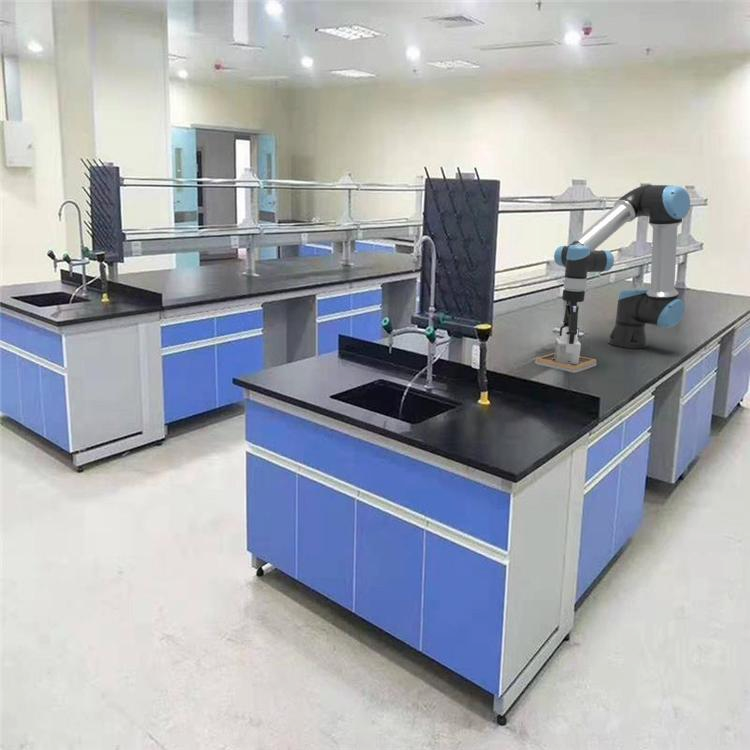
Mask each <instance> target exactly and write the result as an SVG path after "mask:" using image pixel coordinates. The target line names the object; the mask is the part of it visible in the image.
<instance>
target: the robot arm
mask: <svg viewBox="0 0 750 750" xmlns="http://www.w3.org/2000/svg"><path fill="white" fill-rule="evenodd" d="M690 208H691V198H690V195H689V192H688V191H687V190H686V189H685V187H682V186H678V185H673V184H671V185H666V184H658V185H657V184H645V185H641V186H638V187H636V188H634V189H632V190H630V191H628V192H627V193H625V194H624V195H623V196H621V197H619V199H618V200H616V201H615V202H614V204H613V207H612V208H611V209H610V210H608V211H607V213H605V214H604V215H603V216H602V217H601V218H599V219H598V220H596V222H594V223H593V224H592V225H591V226H590V227H589V228H587V229H586V230H585V231H584V232H583V233H581V234H580V235H579V236H578V237H577V238H575V240H574V241H572V242H571V243H570V244H569V245H561V246H559V247H557V248H556V250H555V251H554V253H553V260H554V262H555V264H557V266H561V267H563V268H565V270H564V279H562V282H561V283H563V288H564V289H563V290H562V294H561V295H562V298H561V299H562V301H564V302H566V305H565V311H564V317H563V321H562V324H563V325H562V326H566V325H568V326H569V329H568V332H567V333H566V334H568V335H567V344H566V352H568V353H574V346H575V337H576V334H577V328H578V322H579V321H578V316H579V306H578V303H582V302H584V301H585V294H586V292H585V291H584V290H586V289H587V288H586V287H587V279H588V273H603V272H608V271H610V270H611V269H612V268H613V266H614V263H615V257H614V255H613V254H612V252H611V251H609V250H604V249H601V250H596V249H597V248H598V247H600V246H601V245H602V244H603V243H604V242H605V241H607V240H608V238H610V237H611V236H612V235H613V234H614V233H616V232H617V231H618V230H620V228H621V227H623V226H624V225H625V224H626V223H631V222H632V221H634V220H635V219H636V218H639V217H648V224H649V226H651V227H652V240H651V242H652V243H651V244H652V246H651V271H650V287H649V288H650V289H648V288H647V289H646V288H645V289H644V288H643V289H640V288H637V289H636V288H635V289H622V290H621V291H620V292H619V295H618V299H617V307H616V313H615V315H616V317H615V324H614V326H613V329H612V330H611V333H610V335H609V337H608V342H609V343H610V344H609V343H608V344H609V345H611V344H612V346H614V345H615V347H618V346H619V348H623V347H625V349H636V348H637V349H645V348H647V346H648V337H647V333H646V324H647V325H651V326H656V327H658V328H667V329H668V328H669V329H671V328H673V327H675V326H676V325H678V323H679V322H680V321H681V320H682V318H683V316H684V313H685V304H684V303H685V302H683V300H682V299H680V298H679V291H678V290H676V288H675V287H676V285H675V282H676V262H677V261H676V260H677V246H678V245H677V243H678V242H677V241H678V228H679V225H681V224H682V222H683V219H684V218H685V217H687V215H688V212H689V211H690Z"/></svg>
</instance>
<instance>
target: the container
mask: <svg viewBox="0 0 750 750" xmlns="http://www.w3.org/2000/svg"><path fill="white" fill-rule="evenodd" d="M568 329H569V326H568V325H566V326H564V325H562V326H561V327H560V329H559V338H558V337H556V338H555V347H554V352H553V353H554V359H555V360H556V362H560V363H564V364H579V356H580V353H581V348H582V347H581V346H582V343H581V342H580V341H579V335H580V334H579V333H580V328H579V327H577V334H576V337H575V346H574V353H568V352H566V344H567V335H568V334H566V333H567V332H568Z"/></svg>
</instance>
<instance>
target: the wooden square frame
mask: <svg viewBox="0 0 750 750" xmlns="http://www.w3.org/2000/svg"><path fill="white" fill-rule="evenodd" d="M554 353H555V352H552V353H549V354H545V355H543V356H539V357H536V358H535V361H534V364H535V365H538V366H542V367H546V368H547V367H548V368H551V369H556V370H559V371H560V370H561V371H564V372H568V373H573V374H576V373H579V372H582V371H585V370H587V369H588V370H589V369H591V368H593V367H596V366H597V359H595V358H589V357H585V356H579V364H564V363H560V362H556V360H555V359H554Z"/></svg>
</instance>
